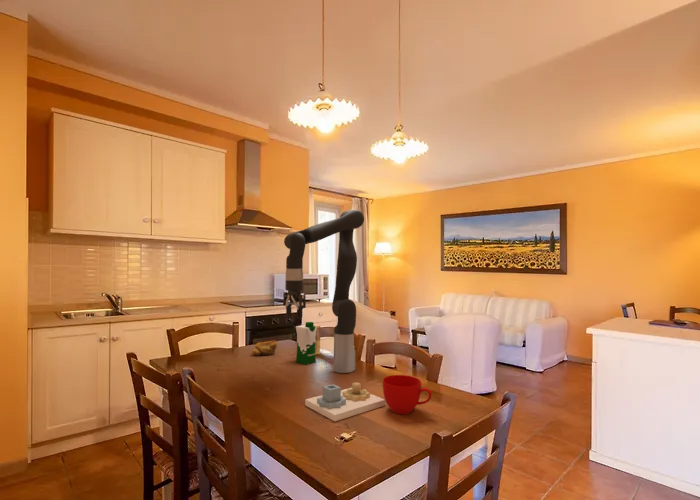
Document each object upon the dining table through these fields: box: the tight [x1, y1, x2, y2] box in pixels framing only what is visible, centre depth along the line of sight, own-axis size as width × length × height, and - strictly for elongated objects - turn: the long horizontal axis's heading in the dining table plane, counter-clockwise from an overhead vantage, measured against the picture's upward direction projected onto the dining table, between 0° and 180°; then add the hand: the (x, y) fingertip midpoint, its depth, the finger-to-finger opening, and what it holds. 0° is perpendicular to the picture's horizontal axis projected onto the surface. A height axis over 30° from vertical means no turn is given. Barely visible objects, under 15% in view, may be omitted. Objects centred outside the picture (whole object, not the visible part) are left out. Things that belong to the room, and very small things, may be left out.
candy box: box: [314, 324, 321, 355], centre depth 205 cm, size 9×4×15 cm, turn 110°
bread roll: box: [252, 339, 278, 357], centre depth 202 cm, size 13×10×8 cm
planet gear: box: [317, 383, 346, 409], centre depth 126 cm, size 10×10×6 cm
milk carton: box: [295, 321, 317, 365], centre depth 187 cm, size 9×9×20 cm
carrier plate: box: [304, 381, 386, 422], centre depth 130 cm, size 22×17×7 cm
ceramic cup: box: [382, 374, 433, 415], centre depth 125 cm, size 13×17×10 cm
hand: (293, 317), depth 160 cm, fingers open, 8 cm apart
